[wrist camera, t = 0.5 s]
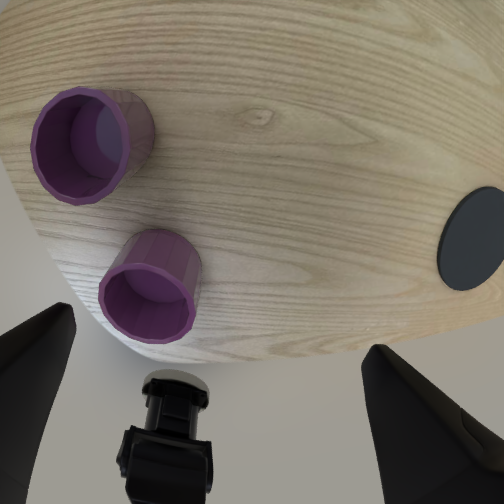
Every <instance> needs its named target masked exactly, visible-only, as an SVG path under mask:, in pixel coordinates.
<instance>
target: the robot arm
mask: <svg viewBox="0 0 504 504" xmlns="http://www.w3.org/2000/svg"><path fill="white" fill-rule="evenodd" d="M75 334H76V322H75V317H74V313H73V308H72V306H71V305H70V304H66V303H62V302H58V303H56V304H54V305H52V306H51V307H49V308H47V309H45V310H44V311H42V312H40V313H39V314H37V315H35V316H33V317H31V318H30V319H28V320H27V321H25V322H23V323H21V324H20V325H18V326H16V327H15V328H13V329H11V330H9V331H8V332H6V333H4V334H3V335H1V336H0V504H26V498H27V494H28V490H27V489H28V488H29V484H30V479H31V475H32V471H33V467H34V463H35V459H36V456H37V452H38V449H39V445H40V442H41V439H42V435H43V432H44V429H45V425H46V422H47V420H48V417H49V414H50V410H51V408H52V405H53V402H54V399H55V397H56V394H57V391H58V389H59V386H60V383H61V381H62V378H63V375H64V372H65V368H66V365H67V361H68V358H69V354H70V351H71V347H72V344H73V341H74V337H75ZM361 371H362V378H363V385H364V392H365V401H366V408H367V413H368V417H369V422H370V427H371V432H372V436H373V441H374V446H375V450H376V456H377V461H378V466H379V471H380V477H381V483H382V489H383V495H384V501H385V504H504V440H503V439H502V438H500V437H499V436H497V435H496V434H494V433H493V432H492V431H490V430H489V429H488V428H486V427H485V426H484V425H482V424H481V423H480V422H478V421H477V420H476V419H475V418H473V417H472V416H471V415H470V414H468V413H467V412H466V411H465V410H464V409H463V408H460V406H459V405H458V404H457V403H455V402H454V401H453V400H452V399H451V398H449V397H448V396H447V395H446V394H445V393H443V392H442V391H441V390H440V389H439V388H437V387H436V386H435V385H434V384H433V383H431V382H430V381H429V380H428V379H427V378H425V377H424V376H423V375H422V374H421V373H419V372H418V371H417V370H416V369H414V368H413V367H412V366H411V365H410V364H408V363H407V362H406V361H405V360H404V359H402V358H401V357H400V356H399V355H397V354H396V353H395V352H394V351H393V350H391V349H390V348H389V347H388V346H387V345H384V344H374V345H373V346H372V347H371V348H370V350H369V352H368V353H367V355H366V357H365V358H364V360H363V362H362V365H361ZM206 397H207V391H205V390H201V389H196V388H192V387H188V386H184V385H179V384H176V383H172V382H168V381H164V380H160V379H157V378H152V379H151V381H150V386H149V390H148V395H147V400H146V407H147V408H148V413H147V417H146V423H145V428H144V429H141V428H137V427H136V426H133V425H131V427H130V429H129V430H125V433H124V437H123V441H122V445H121V447H120V450H119V453H118V455H117V459H116V462H117V464H118V465H119V466H120V471H121V477H123V478H126V486H125V489H126V493H127V496H128V498H129V500H130V502H131V504H205V500H206V493H208V494H209V493H210V491H211V488H212V483H213V459H212V446H211V441H199V440H196V433H197V419H198V413H199V411H200V409H201V407H202V405H203V403H204V401H205V399H206Z"/></svg>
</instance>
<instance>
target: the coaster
mask: <svg viewBox="0 0 504 504" xmlns="http://www.w3.org/2000/svg"><path fill="white" fill-rule="evenodd" d="M503 260H504V192H503V191H501V190H499V189H497V188H495V187H482V188H479V189H477V190H475V191H473V192H471V193H470V194H469V195H468V196H466V197H465V198H464V199H463V200H462V201H461V202H460V203H459V205H458V206H457V207H456V208H455V210H454V211H453V213H452V214H451V216H450V218H449V219H448V221H447V223H446V226H445V228H444V230H443V233H442V236H441V239H440V243H439V248H438V256H437V263H438V269H439V273H440V275H441V278H442V279H443V281H444V282H445V283H446V284H447V285H448V286H449V287H450V288H452V289H455V290H459V291H464V290H469V289H472V288H475V287H477V286H479V285H480V284H482V283H483V282H485V281H486V280H487V279H488V278H489V277H490V276H491V275H492V274H493V273H494V272H495V271H496V270H497V269H498V267H499V266H500V265H501V263H502V261H503Z"/></svg>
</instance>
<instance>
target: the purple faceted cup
mask: <svg viewBox="0 0 504 504" xmlns="http://www.w3.org/2000/svg"><path fill="white" fill-rule="evenodd" d="M154 135H155V133H154V122H153V119H152V115H151V113H150V111H149V109H148V107H147V106H146V104H145V103H144V102H143V101H142V100H141V99H140V98H139V97H138V96H137V95H135V94H134V93H132V92H130V91H127V90H124V89H118V88H112V87H92V86H78V87H75V88H72V89H69V90H66V91H62V92H60V93H59V94H57V95H56V96H55V97H54V98H53V99H52V100H51V101H49V102H48V103H47V104H46V105H45V106H44V107H43V109H42V111H41V113H40V114H39V116H38V118H37V120H36V122H35V124H34V127H33V132H32V138H31V145H30V150H31V157H32V163H33V168H34V171H35V173H36V175H37V176H38V178H39V180H40V182H41V184H42V186H43V187H44V188H45V189H46V190H47V191H48V192H49V193H50V194H52V195H53V196H54V197H55V198H56V199H57V200H59V201H62V202H66V203H69V204H72V205H75V206H79V205H86V204H94V203H96V202H98V201H100V200H101V199H103V198H104V197H106V196H107V195H109V194H110V193H112V192H113V191H114V190H116V189H117V188H118V187H119V186H120V185H122V184H123V183H124V182H125V181H127V180H128V179H129V178H130V177H132V176H133V175H134V174H135V173H137V171H138V170H139V169H140V168H141V167H142V166H143V165H144V163H145V162H146V160H147V159H148V157H149V155H150V153H151V150H152V147H153V143H154Z"/></svg>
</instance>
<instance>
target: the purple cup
mask: <svg viewBox="0 0 504 504" xmlns="http://www.w3.org/2000/svg"><path fill="white" fill-rule="evenodd" d="M201 282H202V264H201V260H200V257H199V255H198V253H197V252H196V250H195V249H194V247H193V246H192V245H191V244H190V243H189V242H188V241H187V240H186V239H184V238H183V237H181V236H180V235H178V234H176V233H173V232H171V231H167V230H162V229H150V230H145V231H142V232H139V233H137V234H135V235H134V236H132V237H131V238H130V239H129V240H128V241H127V243H126V244H125V245H124V247H123V248H122V250H121V251H120V253H119V254H118V256H117V257H116V259H115V260H114V262H113V263H112V265H111V266H110V268H109V269H108V271H107V272H106V274H105V276H104V277H103V279H102V280H101V282H100V283H99V292H98V301H99V304H100V307H101V309H102V312H103V314H104V316H105V317H106V318H107V320H108V321H109V322H110V323H111V324H112V325H113V327H114V328H115V329H117V330H118V331H120V332H121V333H123V334H124V335H126V336H127V337H129V338H131V339H134V340H137V341H140V342H143V343H148V344H167V343H170V342H173V341H176V340H179V339H181V338H182V337H183V336H184V335H185V334H186V333H188V332H189V331H190V330H191V329H192V326H193V323H194V320H195V317H196V313H197V307H198V301H199V294H200V288H201Z"/></svg>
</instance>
